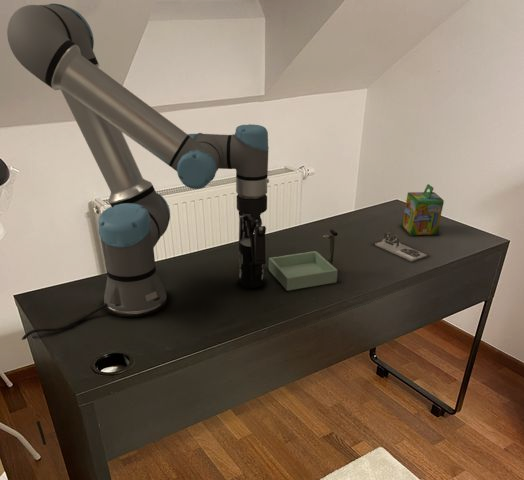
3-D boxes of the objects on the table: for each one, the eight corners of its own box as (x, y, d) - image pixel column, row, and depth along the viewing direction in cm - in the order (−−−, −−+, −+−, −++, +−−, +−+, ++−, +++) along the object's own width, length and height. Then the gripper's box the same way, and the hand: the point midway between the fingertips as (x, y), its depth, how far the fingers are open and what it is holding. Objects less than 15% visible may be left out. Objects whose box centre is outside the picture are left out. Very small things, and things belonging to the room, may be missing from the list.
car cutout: (374, 244, 164) (376, 231, 161) (389, 240, 167) (391, 226, 164) (411, 261, 153) (414, 247, 151) (426, 256, 157) (429, 242, 154)
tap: (322, 274, 146) (325, 234, 139) (318, 270, 148) (321, 230, 141) (334, 272, 147) (338, 232, 140) (330, 268, 149) (333, 229, 142)
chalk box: (401, 226, 177) (408, 181, 169) (427, 225, 178) (435, 181, 170) (410, 236, 170) (418, 190, 161) (437, 235, 170) (447, 189, 162)
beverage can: (253, 291, 137) (253, 248, 130) (234, 284, 140) (233, 241, 133) (268, 282, 141) (269, 240, 135) (249, 275, 145) (249, 234, 138)
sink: (286, 290, 138) (287, 278, 136) (268, 269, 148) (268, 257, 146) (336, 282, 142) (337, 270, 140) (315, 262, 152) (316, 250, 150)
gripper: (281, 205, 121) (278, 294, 134) (253, 181, 136) (252, 263, 149) (250, 208, 119) (250, 298, 132) (225, 184, 134) (227, 267, 147)
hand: (251, 279), depth 140 cm, fingers closed on beverage can, 6 cm apart
